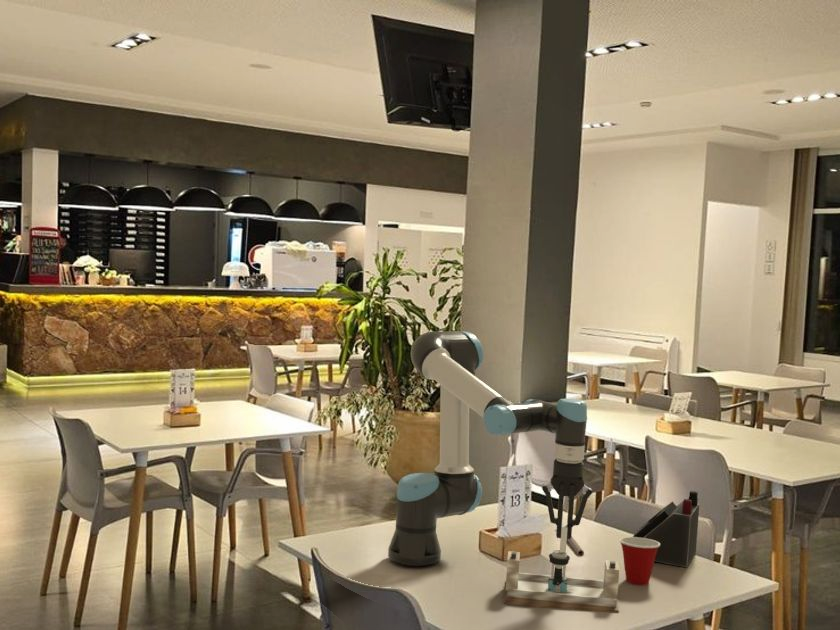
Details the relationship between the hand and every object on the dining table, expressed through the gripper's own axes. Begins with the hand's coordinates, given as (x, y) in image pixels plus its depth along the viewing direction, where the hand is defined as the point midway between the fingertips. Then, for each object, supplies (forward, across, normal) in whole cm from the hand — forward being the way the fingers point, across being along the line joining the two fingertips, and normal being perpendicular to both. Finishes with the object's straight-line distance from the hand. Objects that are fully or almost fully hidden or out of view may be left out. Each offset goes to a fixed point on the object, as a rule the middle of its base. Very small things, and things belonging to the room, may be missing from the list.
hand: (562, 550), depth 231 cm
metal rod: (+13, +4, +49) cm, 51 cm away
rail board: (+12, 0, 0) cm, 12 cm away
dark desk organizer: (+13, +31, +40) cm, 52 cm away
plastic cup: (+12, +21, +16) cm, 29 cm away
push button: (+11, 0, 0) cm, 11 cm away
